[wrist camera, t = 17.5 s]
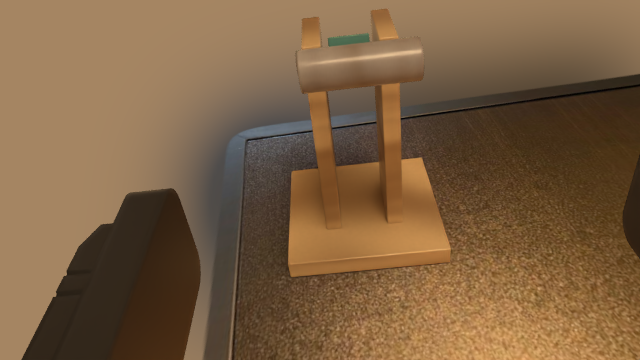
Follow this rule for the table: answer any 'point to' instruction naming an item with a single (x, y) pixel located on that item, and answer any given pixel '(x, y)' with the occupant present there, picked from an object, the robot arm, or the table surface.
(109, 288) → the robot arm
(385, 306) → the table surface
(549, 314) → the table surface
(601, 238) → the table surface
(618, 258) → the table surface
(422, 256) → the rod stand
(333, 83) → the cylinder
